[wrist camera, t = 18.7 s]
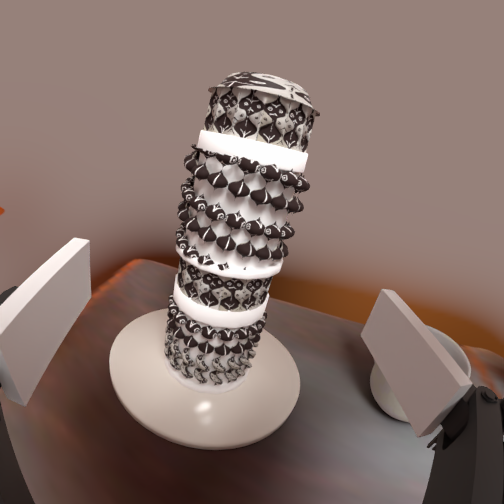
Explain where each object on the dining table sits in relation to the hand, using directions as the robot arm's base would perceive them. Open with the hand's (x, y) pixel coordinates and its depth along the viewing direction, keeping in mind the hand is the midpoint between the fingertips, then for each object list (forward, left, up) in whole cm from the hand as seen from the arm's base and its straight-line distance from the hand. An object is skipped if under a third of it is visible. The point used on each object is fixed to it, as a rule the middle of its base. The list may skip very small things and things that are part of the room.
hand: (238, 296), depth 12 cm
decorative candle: (+10, -3, -15) cm, 18 cm away
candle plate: (+10, -3, -16) cm, 19 cm away
